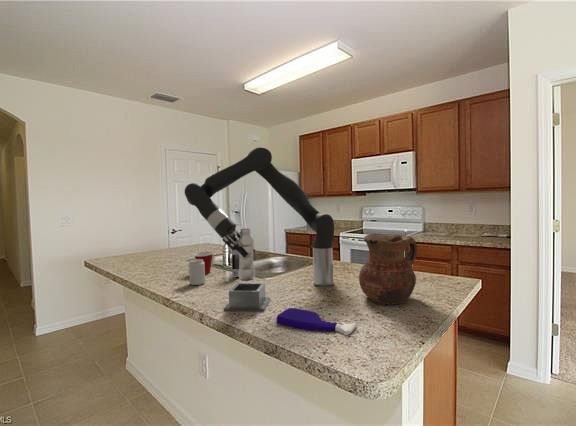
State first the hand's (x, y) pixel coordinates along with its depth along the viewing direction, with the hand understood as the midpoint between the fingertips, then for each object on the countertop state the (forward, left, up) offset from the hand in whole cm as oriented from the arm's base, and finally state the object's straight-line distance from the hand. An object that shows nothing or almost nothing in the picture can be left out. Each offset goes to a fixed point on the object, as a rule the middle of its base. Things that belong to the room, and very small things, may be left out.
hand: (250, 254), depth 116 cm
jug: (-52, -9, -20) cm, 57 cm away
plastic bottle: (+2, 0, -11) cm, 11 cm away
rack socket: (+2, 0, -20) cm, 20 cm away
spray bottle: (-25, +17, -21) cm, 37 cm away
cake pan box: (+18, -49, -20) cm, 56 cm away
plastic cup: (+40, -50, -20) cm, 67 cm away
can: (+35, -29, -20) cm, 49 cm away
